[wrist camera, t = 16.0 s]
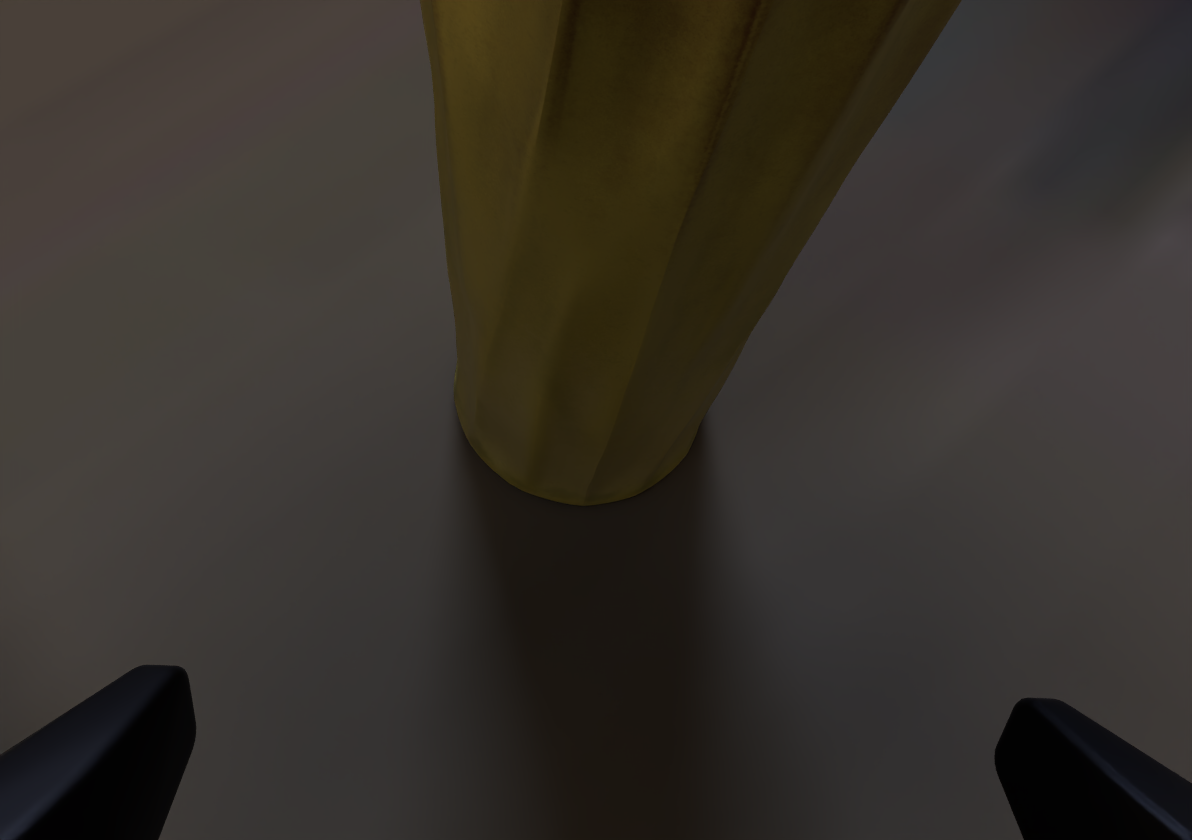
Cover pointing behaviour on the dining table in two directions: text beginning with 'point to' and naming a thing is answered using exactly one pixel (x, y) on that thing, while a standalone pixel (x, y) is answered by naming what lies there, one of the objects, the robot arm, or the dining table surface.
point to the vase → (637, 206)
